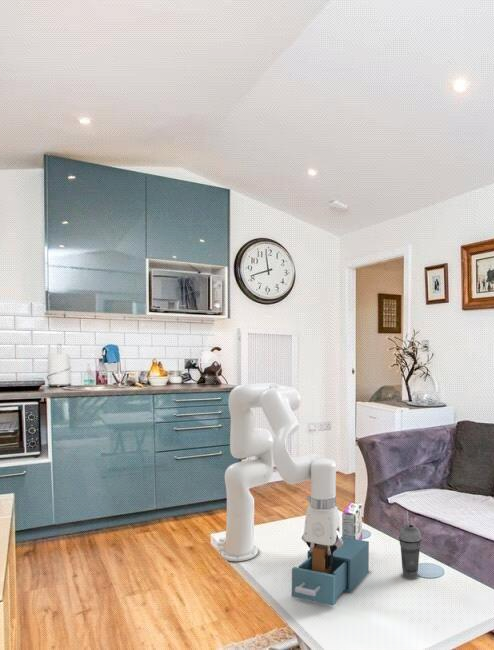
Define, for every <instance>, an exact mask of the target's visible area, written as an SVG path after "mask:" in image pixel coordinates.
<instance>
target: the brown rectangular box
mask: <svg viewBox="0 0 494 650" xmlns="http://www.w3.org/2000/svg"><path fill="white" fill-rule="evenodd" d="M326 554H327V549H326V545H321V544H317V545H316V546H314V547H313V548H312V571H317V572H322V573H327V574H332V565H331V566H330V567H329V568H328V569H326V568H325V555H326Z"/></svg>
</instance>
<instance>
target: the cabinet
mask: <svg viewBox="0 0 494 650" xmlns="http://www.w3.org/2000/svg"><path fill="white" fill-rule="evenodd" d="M341 538H342V540H343V542H344V545H343V546H342V547H340V548H338V549H336V550H335V551H334V552H333V559H337V560H342V561H347V562H348V586H347V587H346V589H345V590H344V591H343V592H345V593H349V594H350V593H352V592H353V590H355V588H356V587H357V586H358V585H359V583H360V582H361V581H362V580H363V579H364V578H365V577H366V575H368V573H369V572H370V571H369V570H370V567H369V565H370V561H369V560H370V558H369V557H370V541H368V540H363V539H362V540H357V539H351V538H345V537H342V536H341ZM335 544H337V541H336V542H335V543H334V545H335ZM310 556H312V552H311V551H310V549H309V550H307V559H308V558H309V557H310Z"/></svg>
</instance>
